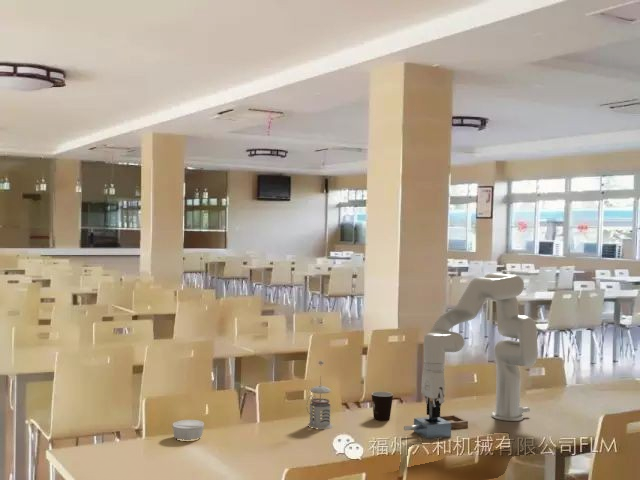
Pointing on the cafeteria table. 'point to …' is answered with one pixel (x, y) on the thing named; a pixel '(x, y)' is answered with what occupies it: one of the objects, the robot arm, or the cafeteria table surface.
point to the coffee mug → (382, 405)
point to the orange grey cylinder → (431, 411)
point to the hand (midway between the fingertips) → (433, 415)
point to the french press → (320, 408)
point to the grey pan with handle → (430, 428)
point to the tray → (455, 421)
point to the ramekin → (188, 429)
